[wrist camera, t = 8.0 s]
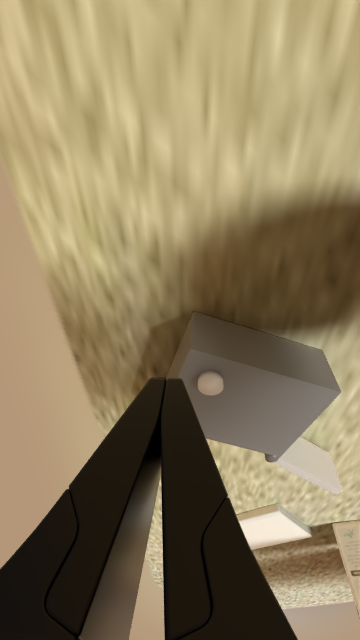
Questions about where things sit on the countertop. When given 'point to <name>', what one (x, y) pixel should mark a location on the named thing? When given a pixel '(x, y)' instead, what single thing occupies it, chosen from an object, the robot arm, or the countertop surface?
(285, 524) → the external hard drive
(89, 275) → the countertop surface
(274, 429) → the camera block
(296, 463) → the side door
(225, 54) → the countertop surface
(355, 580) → the syrup box
